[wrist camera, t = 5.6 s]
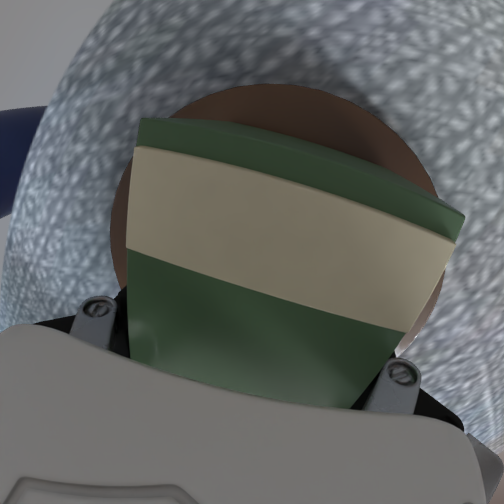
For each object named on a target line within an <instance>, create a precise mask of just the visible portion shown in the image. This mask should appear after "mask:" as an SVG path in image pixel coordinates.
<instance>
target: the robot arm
mask: <svg viewBox="0 0 504 504" xmlns="http://www.w3.org/2000/svg"><path fill="white" fill-rule="evenodd" d="M420 384H421V373H420V371H419V369H418V368H417V367H416V366H415V365H414V364H413V363H412V362H410V361H408V360H406V359H403V358H396V354H395V350H394V352H393V353H392V354H391V356H390V357H389V359H388V360H387V361H386V363H385V364H384V366H383V367H382V368H381V370H380V371H379V372H378V374H377V375H376V376H375V378H374V379H373V380H372V382H371V383H370V384H369V385H368V387H367V388H366V389H365V390H364V392H363V393H362V394H361V395H360V397H359V398H358V399H357V400H356V401H355V403H354V404H353V405H352V406H351V407H350V408H349V409H342V408H333V407H324V406H316V405H309V404H302V403H296V402H290V401H284V400H279V399H273V398H268V397H263V396H258V395H253V394H248V393H244V392H239V391H235V390H231V389H227V388H223V387H219V386H215V385H211V384H207V383H204V382H200V381H196V380H193V379H189V378H186V377H183V376H179V375H176V374H173V373H170V372H167V371H163V370H160V369H157V368H154V367H151V366H148V365H146V364H143V363H140V362H137V361H134V360H132V359H130V348H129V334H128V314H127V285H126V286H125V287H124V288H123V289H122V290H121V291H120V292H119V293H118V295H117V296H116V297H115V298H114V299H112V298H110V297H108V296H94V297H90V298H88V299H86V300H85V301H84V302H83V303H82V304H81V305H80V307H79V309H78V312H77V314H76V315H73V316H68V317H63V318H58V319H53V320H48V321H42V322H38V323H34V324H33V325H32V324H18V325H14V326H11V327H9V328H7V329H6V330H4V331H3V332H1V333H0V504H488V503H489V502H490V500H491V498H492V496H493V494H494V492H495V490H496V488H497V486H498V484H499V482H500V480H501V477H502V475H503V472H504V465H503V462H502V460H501V459H500V458H499V456H497V455H496V454H495V453H494V452H492V451H491V450H490V449H489V448H487V447H486V446H485V445H484V444H482V443H481V442H480V441H479V440H477V439H476V438H475V437H474V436H472V435H471V434H470V433H468V434H467V435H466V434H465V433H464V426H463V423H462V421H461V420H460V418H459V417H458V416H457V415H455V414H454V413H453V412H451V411H450V410H449V409H447V408H446V407H445V406H443V405H442V404H441V403H439V402H438V401H437V400H435V399H434V398H433V397H431V396H430V395H429V394H428V393H426V392H425V391H424V390H422V389H421V388H420Z"/></svg>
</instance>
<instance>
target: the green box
mask: <svg viewBox="0 0 504 504" xmlns="http://www.w3.org/2000/svg"><path fill="white" fill-rule="evenodd" d="M464 220H465V216H464V215H463V214H462V213H460V212H459V211H457V210H456V209H454V208H453V207H451V206H450V205H448V204H447V203H445V202H444V201H442V200H440V199H439V198H437V197H436V196H434V195H432V194H431V193H429V192H427V191H426V190H424V189H422V188H421V187H419V186H417V185H416V184H414V183H412V182H410V181H409V180H407V179H405V178H403V177H401V176H400V175H398V174H396V173H394V172H392V171H390V170H388V169H387V168H384V167H382V166H379V165H376V164H374V163H371V162H369V161H366V160H363V159H360V158H358V157H355V156H352V155H349V154H346V153H343V152H340V151H337V150H334V149H331V148H328V147H325V146H322V145H319V144H316V143H312V142H309V141H306V140H302V139H299V138H295V137H292V136H288V135H284V134H281V133H277V132H273V131H269V130H265V129H261V128H257V127H252V126H248V125H244V124H239V123H234V122H229V121H217V120H203V119H184V118H142V119H141V120H140V125H139V131H138V138H137V144H136V147H135V148H134V154H133V162H132V170H131V179H130V189H129V201H128V214H127V232H126V248H127V314H128V334H129V348H130V359H132V360H134V361H137V362H140V363H143V364H146V365H148V366H151V367H154V368H157V369H160V370H163V371H167V372H170V373H173V374H176V375H179V376H183V377H186V378H189V379H193V380H196V381H200V382H204V383H207V384H211V385H215V386H219V387H223V388H227V389H231V390H235V391H239V392H244V393H248V394H253V395H258V396H263V397H268V398H273V399H279V400H284V401H290V402H296V403H302V404H309V405H316V406H324V407H333V408H342V409H349V408H350V407H351V406H352V405H353V404H354V403H355V401H356V400H357V399H358V398H359V397H360V395H361V394H362V393H363V392H364V390H365V389H366V388H367V387H368V385H369V384H370V383H371V382H372V380H373V379H374V378H375V376H376V375H377V374H378V372H379V371H380V370H381V368H382V367H383V366H384V364H385V363H386V361H387V360H388V359H389V357H390V356H391V354H392V353H393V352H394V350H395V349H396V347H397V346H398V344H399V343H400V341H401V340H402V338H403V337H404V335H405V334H406V333H408V332H409V331H410V329H411V328H412V326H413V324H414V323H415V321H416V320H417V318H418V316H419V315H420V313H421V311H422V310H423V308H424V306H425V304H426V303H427V301H428V299H429V297H430V296H431V294H432V292H433V290H434V288H435V287H436V285H437V283H438V281H439V279H440V277H441V275H442V273H443V271H444V269H445V267H446V265H447V263H448V261H449V259H450V257H451V255H452V253H453V251H454V249H455V246H456V244H455V242H456V239H457V237H458V235H459V232H460V230H461V228H462V225H463V223H464Z"/></svg>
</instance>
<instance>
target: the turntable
mask: <svg viewBox="0 0 504 504" xmlns="http://www.w3.org/2000/svg"><path fill="white" fill-rule="evenodd" d="M169 118H184V119H203V120H217V121H229V122H234V123H239V124H244V125H248V126H252V127H257V128H261V129H265V130H269V131H273V132H277V133H281V134H284V135H288V136H292V137H295V138H299V139H302V140H306V141H309V142H312V143H316V144H319V145H322V146H325V147H328V148H331V149H334V150H337V151H340V152H343V153H346V154H349V155H352V156H355V157H358V158H360V159H363V160H366V161H369V162H371V163H374V164H376V165H379V166H382V167H384V168H387V169H388V170H390V171H392V172H394V173H396V174H398V175H400V176H401V177H403V178H405V179H407V180H409V181H410V182H412V183H414V184H416V185H417V186H419V187H421V188H422V189H424V190H426V191H427V192H429V193H431V194H432V195H434V196H436V197H437V198H438V196H437V194H436V191H435V189H434V186H433V184H432V182H431V180H430V177H429V176H428V174H427V172H426V171H425V169H424V167H423V166H422V164H421V163H420V161H419V159H418V158H417V156H416V155H415V154H414V152H413V151H412V150H411V149H410V148H409V147H408V145H407V144H406V143H405V142H404V141H403V140H402V139H401V138H400V136H399V135H398V134H397V133H395V132H394V131H393V130H392V129H391V128H390V127H388V126H387V125H386V124H385V123H383V122H382V121H381V120H380V119H378V118H377V117H376V116H374V115H373V114H371V113H370V112H368V111H366V110H364V109H363V108H361V107H359V106H358V105H356V104H354V103H352V102H350V101H348V100H346V99H343V98H340V97H338V96H335V95H333V94H330V93H327V92H324V91H321V90H317V89H312V88H307V87H302V86H297V85H287V84H257V85H248V86H240V87H235V88H231V89H227V90H224V91H220V92H217V93H213V94H210V95H208V96H206V97H204V98H201V99H199V100H197V101H195V102H193V103H191V104H189V105H187V106H185V107H184V108H182V109H181V110H179V111H178V112H176V113H175V114H173V115H172V116H170V117H169ZM132 162H133V157H132V159H131V160H130V162H129V164H128V166H127V167H126V169H125V171H124V173H123V175H122V178H121V181H120V183H119V186H118V188H117V191H116V195H115V199H114V203H113V208H112V213H111V225H110V242H111V253H112V259H113V265H114V269H115V273H116V276H117V279H118V283H119V286H120V288H121V290H122V289H123V288H124V287H125V286H126V285H127V248H126V232H127V214H128V201H129V189H130V179H131V170H132ZM445 268H446V267H445ZM444 274H445V269H444V271H443V273H442V275H441V277H440V279H439V281H438V283H437V285H436V287H435V288H434V290H433V292H432V294H431V296H430V297H429V299H428V301H427V303H426V304H425V306H424V308H423V310H422V311H421V313H420V315H419V316H418V318H417V320H416V321H415V323H414V324H413V326H412V328H411V329H410V331H409V332H408V333H406V334H405V335H404V337H403V338H402V340H401V341H400V343H399V344H398V346H397V347H396V349H395V354H396V358H397V357H398V356H399V355H401V353H402V352H403V351H404V350H405V349H406V348H407V347H408V346H409V345H410V344H411V343H412V342H413V341H414V339H415V338H416V337H417V335H418V334H419V333H420V331H421V330H422V328H423V327H424V326H425V324H426V322H427V320H428V318H429V317H430V315H431V313H432V311H433V309H434V307H435V304H436V302H437V299H438V296H439V294H440V291H441V287H442V283H443V278H444Z"/></svg>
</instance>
